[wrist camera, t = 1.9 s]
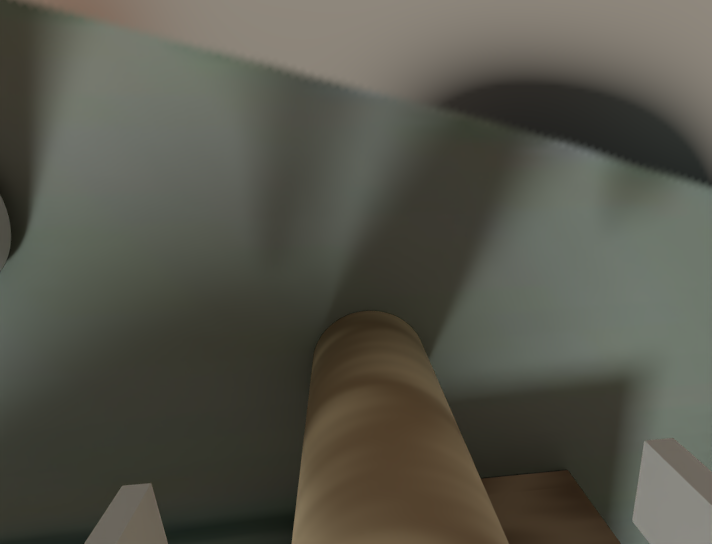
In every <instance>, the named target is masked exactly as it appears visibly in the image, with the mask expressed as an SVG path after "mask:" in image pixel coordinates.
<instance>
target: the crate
mask: <svg viewBox="0 0 712 544" xmlns="http://www.w3.org/2000/svg"><path fill="white" fill-rule="evenodd" d="M481 481H482V483H483V485H484V488H485V490H486V492H487V495H488V497H489V499H490V501H491V504H492V506H493V508H494V511H495V513H496V515H497V518H498V520H499V522H500V524H501V527H502V529H503V531H504V534H505V536H506V538H507V541H508V543H509V544H621V543H620V542H619V541H618V539H617V538H616V536H615V535H614V534H613V532H612V531H611V530H610V528H609V527H608V525H607V524H606V523H605V521H604V520H603V518H602V517H601V516H600V514H599V513H598V511H597V510H596V509H595V507H594V506H593V504H592V503H591V502H590V500H589V499H588V497H587V496H586V495H585V493H584V492H583V491H582V489H581V488H580V486H579V485H578V484H577V482H576V481H575V479H574V478H573V477H572V475H571V474H570V472H569V471H568V470H564V471H554V472H543V473H533V474H523V475H513V476H502V477H492V478H482V479H481Z"/></svg>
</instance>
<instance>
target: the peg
mask: <svg viewBox="0 0 712 544" xmlns="http://www.w3.org/2000/svg"><path fill="white" fill-rule="evenodd" d="M292 544H509V543H508V541H507V538H506V536H505V534H504V531H503V529H502V527H501V524H500V522H499V520H498V518H497V515H496V513H495V511H494V508H493V506H492V504H491V501H490V499H489V497H488V495H487V492H486V490H485V488H484V485H483V483H482V481H481V478H480V476H479V474H478V471H477V469H476V467H475V465H474V462H473V460H472V458H471V455H470V453H469V451H468V448H467V446H466V444H465V442H464V439H463V437H462V435H461V432H460V430H459V428H458V425H457V423H456V421H455V419H454V416H453V414H452V412H451V409H450V407H449V405H448V402H447V400H446V398H445V396H444V393H443V391H442V389H441V386H440V384H439V382H438V379H437V377H436V375H435V372H434V370H433V368H432V366H431V363H430V361H429V359H428V356H427V354H426V352H425V349H424V347H423V345H422V343H421V340H420V338H419V337H418V335H417V333H416V332H415V331H414V329H413V328H412V327H411V326H410V325H409V324H408V323H406V322H405V321H403V320H402V319H400V318H398V317H396V316H395V315H392V314H389V313H385V312H381V311H361V312H356V313H352V314H349V315H347V316H344V317H342V318H341V319H339V320H337V321H336V322H334V323H333V324H332V325H331V326H329V327H328V328H327V329H326V330H325V332H324V333H323V334H322V336H321V337H320V339H319V341H318V343H317V345H316V348H315V351H314V356H313V364H312V373H311V381H310V390H309V398H308V407H307V416H306V424H305V433H304V441H303V450H302V458H301V467H300V476H299V484H298V493H297V501H296V510H295V518H294V527H293V536H292Z"/></svg>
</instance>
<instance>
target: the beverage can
mask: <svg viewBox="0 0 712 544" xmlns="http://www.w3.org/2000/svg"><path fill="white" fill-rule="evenodd" d="M10 245H11V227H10V221H9V216H8V213H7V209H6V207H5V204H4V202H3V199H2V197H1V195H0V272H1V270H2V269H3V267H4V265H5V263H6V260H7V258H8V255H9V251H10Z"/></svg>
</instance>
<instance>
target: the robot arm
mask: <svg viewBox="0 0 712 544" xmlns="http://www.w3.org/2000/svg"><path fill="white" fill-rule="evenodd" d="M632 521H633V523H634V524H635V525H636V526H637V528H638V529H639V530H640V532H641V533H642V534H643V535H644V537H645V538H646V539H647V541H648V542H649V543H650V544H712V472H711V471H710V470H709V469H708V468H707V467H706V466H704V465H703V464H702V463H701V462H700V461H699V460H698V459H696V458H695V457H694V456H693V455H692V454H691V453H690V452H689V451H687V450H686V449H685V448H684V447H683V446H682V445H681V444H679V443H678V442H677V441H676V440H675V439H674V438H667V439H655V440H645V441H644V447H643V454H642V460H641V467H640V473H639V480H638V487H637V493H636V500H635V506H634V513H633V519H632ZM84 544H168V542H167V538H166V534H165V531H164V527H163V524H162V520H161V516H160V513H159V509H158V506H157V502H156V498H155V495H154V491H153V488H152V484H151V483H146V484H134V485H123V486H122V487H121V488H120V490H119V491H118V493H117V494H116V496H115V497H114V499H113V500H112V502H111V503H110V505H109V506H108V508H107V510H106V511H105V513H104V514H103V516H102V517H101V519H100V520H99V522H98V523H97V525H96V526H95V528H94V529H93V531H92V532H91V534H90V535H89V537H88V538H87V540H86V541H85V543H84Z"/></svg>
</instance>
